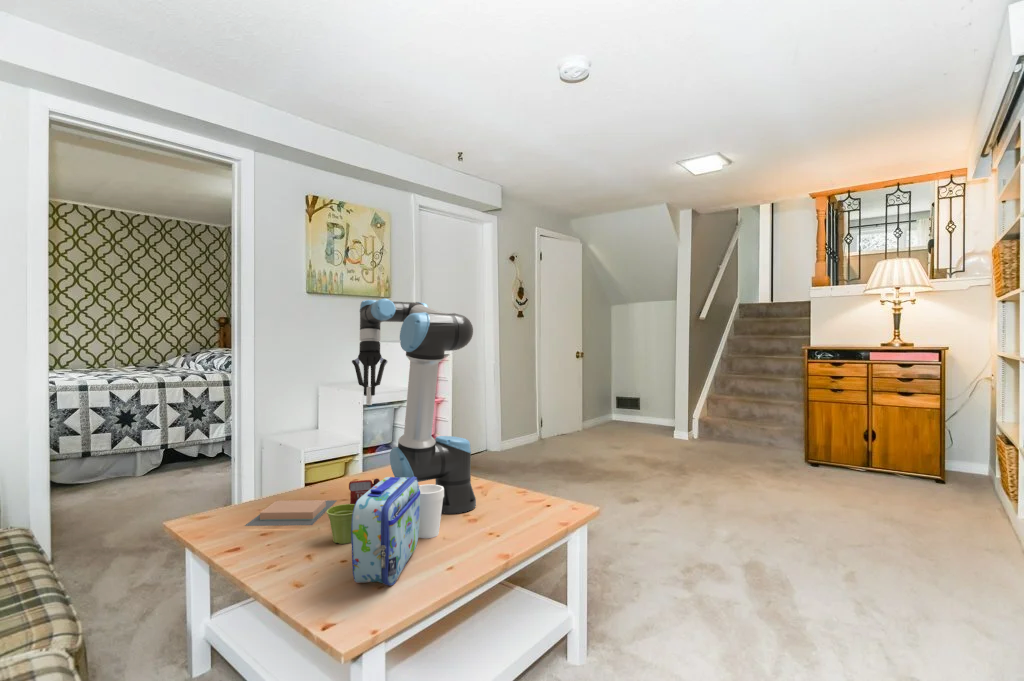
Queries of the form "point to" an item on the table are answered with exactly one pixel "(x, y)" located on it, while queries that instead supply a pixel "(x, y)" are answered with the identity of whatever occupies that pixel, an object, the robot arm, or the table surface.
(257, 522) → the rubber mat
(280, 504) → the terracotta tile
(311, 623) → the table surface
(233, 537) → the table surface
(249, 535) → the table surface
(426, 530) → the foam cup
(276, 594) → the table surface
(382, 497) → the lunch box
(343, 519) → the plant pot
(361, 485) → the toy fire truck
